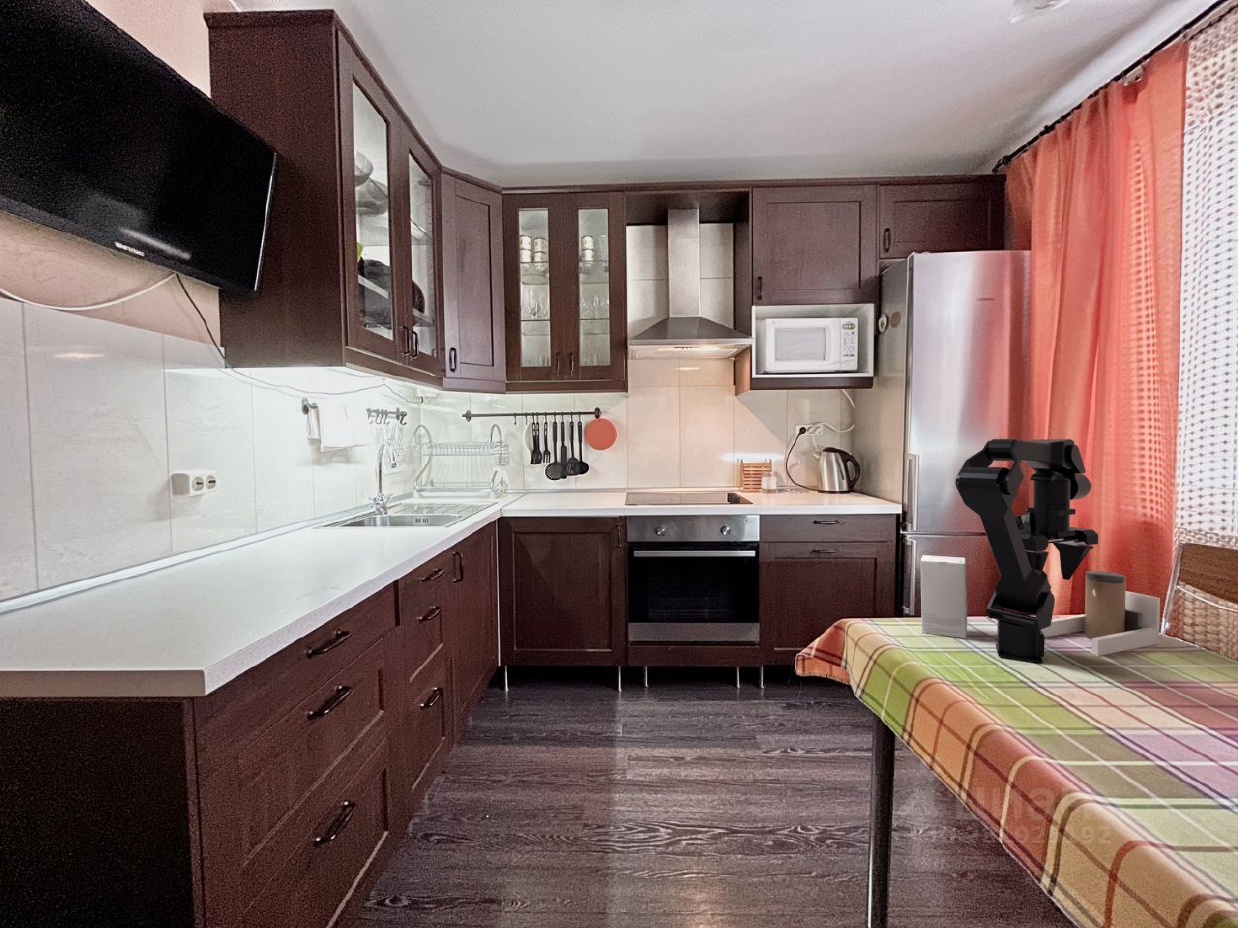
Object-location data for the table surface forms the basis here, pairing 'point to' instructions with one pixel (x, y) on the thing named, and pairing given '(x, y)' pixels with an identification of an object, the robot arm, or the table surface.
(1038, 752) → the table surface
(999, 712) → the table surface
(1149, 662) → the table surface
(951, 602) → the skincare box
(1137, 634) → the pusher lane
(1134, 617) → the pusher paddle
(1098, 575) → the jar
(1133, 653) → the table surface
